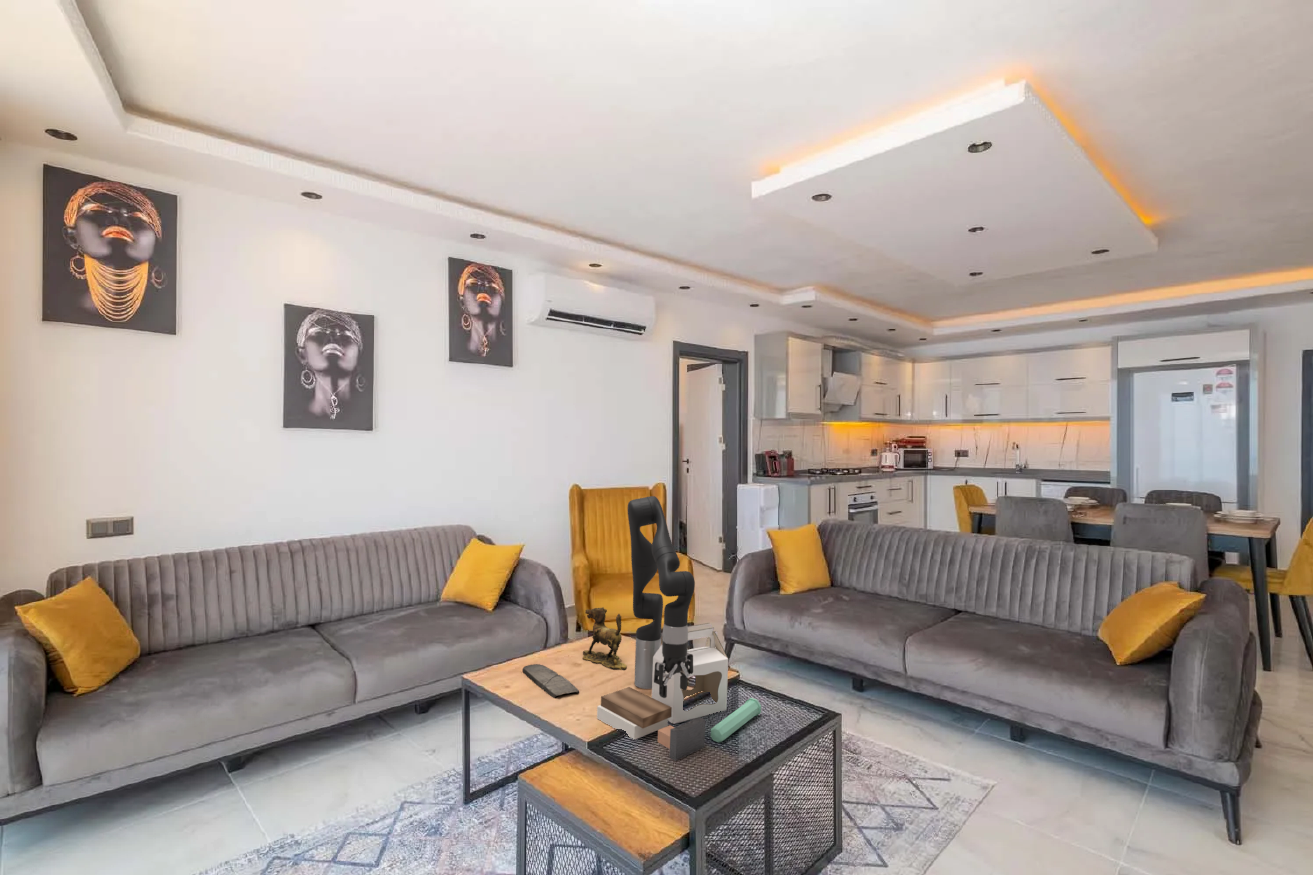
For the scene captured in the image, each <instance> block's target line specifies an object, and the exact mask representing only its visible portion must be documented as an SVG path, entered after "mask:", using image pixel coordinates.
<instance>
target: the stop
mask: <svg viewBox="0 0 1313 875" xmlns="http://www.w3.org/2000/svg"><path fill="white" fill-rule="evenodd" d="M674 727H675V728H673V729H670V749H669V759H672V760H673V761H675V762H676V761H679V760H681V759H683V758H685V757H687V756H688V755H691V754H693V753H695V752H698V751H700V750H702V749H704V748H705V740H706V720H705V719H704V718H702V717H698V718H694V719H691V720H688V721H687V722H685V723H681V724H680V725H678V726H674Z"/></svg>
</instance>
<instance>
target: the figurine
mask: <svg viewBox="0 0 1313 875" xmlns="http://www.w3.org/2000/svg"><path fill="white" fill-rule="evenodd" d="M607 610H608V609H606V608H605V607H604V606H603V607H595V608H592V609H586V610H585V615H586V617H587V618H588V619H593V620H594V622H593V626H592V633H593V636H592V637H591V638H592V642H591V644H590V646H589V648H588V650H587V649H586V650H583V651H582V655H583V656H582V660H583V661H587V662H590V663H592V664H595V665H601V666H603V667H606V668H608V669H610V670H614V671H616V670H617V671H619V670H620V671H625V670H627V669H628V668H627V667H628V666H627V664H626V663H624V662H621V659H620V656H619V655H617V653H618V650H619V647H620V645H621V642H622V634H621V630H622V615H621V614H620V613H618V614H617V616H616V617H615V621H616V622H615V623H616V625H617V626H616V628H617V629H615V628H609V627H607V626H606V624H605V621H606V614H607V612H608V611H607ZM596 643H597V644H599V643H600V644H602V645H603V646H608V648H610V650H609V652H608V653H607V654H604V653H603V652H602V651H601V652H600V651H597V652H596V651H594V650H593V647H594V645H596Z"/></svg>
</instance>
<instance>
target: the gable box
mask: <svg viewBox="0 0 1313 875" xmlns="http://www.w3.org/2000/svg"><path fill="white" fill-rule="evenodd" d="M687 626H688V641H692V640H697V639H699V640H700V639H703V638H707V639H706V642H705V646H702V647H700V646H699V647H695V648H691V649H687V653H689V654H692V655H693V673H692V674H689V677H691V676H692V677H693V676H695V678H694V680H695V681H694V682H695V683H694V684H695V686H694V687H693V688H692V689H686V690H683V689H681V688H680V676H682V675H681V674H680V673H676V674H674V675H672V677H671V679H669V680H668V682H667V697H666V698H663V697H661V696H660V695H659V684H656V683H654V671H655V663H656V662H658V663H662V662H663V660H664V656H663V654H662V644H661V646H660V648H659V649H658V650H657V652H656V653H655V655H654V656H653V674H652V689H651V698H653V699H655V700H658V701H660V702H662V703H664V704H666V705H668V706H670V707H672V712H671V717H670V718H668V723H671V724H673V725H674V724H679V723H682V722H686V721H687V722H688V721H691V720H694V719H696V718H698V717H700V718H702V717H706V716H710V715H713V713H714V714H716V712H718V713H720V711H721V712H725V711H727V709H728V708H727V707H728V705H727V704H728V703H727V702H728V680H729V679H728V678H729V676H728V674H729V657H728V656H727V653H726V652H725V649H724V648H723V646H722V643H721V641H720V639H719V637H718V636H719V635H718V631H717V630H715V631H714V629H715V627H713V626H712V623H710V622H707V623H701V624H696V625H695V624H694V625H687ZM684 665H685V663H684ZM688 668H689V666H688ZM665 674H669V673H667V672H665ZM665 678H666V677H664V679H663V681H664V680H665ZM658 679H659V676H658ZM701 691H707V692H710V694H711V697H712V699H713V700H714V701H715V702H716V703H714V704H700V705H697V706H695V707H693V708H692V709H690V710H688V711H684V710H683V701H684V698H685V697H686V696H690V695H693V694H695V693H698V692H701ZM709 714H710V715H709Z"/></svg>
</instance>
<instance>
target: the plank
mask: <svg viewBox="0 0 1313 875" xmlns="http://www.w3.org/2000/svg"><path fill="white" fill-rule="evenodd" d="M600 696H601V697H600V705H601V706H602V707H604V708H606V709H608V710H610V711H611V712H613V713H615V714H617V715H619V716H621V717H622V718H624V719H626V720H628V721H630V722H632V723H633V724H635V725H637V726H639V727H641V728H645V727H648V726H650V725H653V724H655V723H658V722H660V721H663V720H665V719H668V718H670V717H671V712H672V707H670V706H668V705H666V704H664V703H662V702H660V701H658V700H655V699H653V698H652V696H649V695H647V694H645V693H644V692H640V691H639V690H637V689H635V688H633V687H631V686H628V687H625V688H621V689H619V690H616V691H613V692H611V693H607V694H603V695H600Z"/></svg>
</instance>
